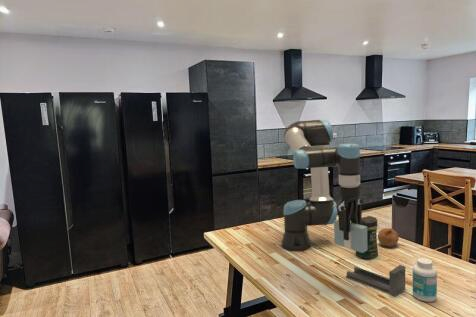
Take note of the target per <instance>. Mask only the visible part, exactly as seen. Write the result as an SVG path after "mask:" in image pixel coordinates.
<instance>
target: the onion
mask: <svg viewBox="0 0 476 317" xmlns="http://www.w3.org/2000/svg"><path fill="white" fill-rule="evenodd" d="M377 233H378V235H377V240H378V241H379V243H380V245H382V246H384V247H388V248H392V247H394V246H396V245H397V244H398V242H399V238H400V237H399V233H398V232H397V231H396V230H395V229H393V228H390V227H385V228H382V229H380V230H379V232H377Z"/></svg>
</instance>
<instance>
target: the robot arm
mask: <svg viewBox="0 0 476 317" xmlns="http://www.w3.org/2000/svg"><path fill="white" fill-rule="evenodd" d="M333 131H334V130H333V127H332V124H331V122H329V121H328V120H327V119H313V120H312V119H311V120H299V121H295V122H292V123H291V124H290V125H288V126H287V127H286V128H285V130H284V133H283V138H284V141H285V143H286V144H287V145H288V146H290V147H291V149H292V151H293V155H292V157H293V158H292V161H293V166H294V168H295V169H303V170H306V169H310V179H311V197H310V198H309V202H307V201H306V200H304V199H296V200H295V199H294V200H289V201H287V202H286V203H285V204H284V206H283V221H284V226H283V228H284V232H283V236H282V240H281V247H282V248H283V249H284V250H287V251H293V252H302V251H306V250H309V249H310V248H312V240H311V239H310V235H309V233H308V232H309V231H308V227H310V226H328V225H334V221H337V220H339V230H341V231H343V234H344V248H346V249H349V250H352V245H351V231H350V223H354V224H358V225H361V219H362V218H363V217H362V216H363V213H362V212H363V204H364V203H363V202H364V201H363V199H360V198H359V197H361V194H362V193H361V186H360V185H361V150H360V145H359V144H358V143H341V144H339V145H338V146H333V147H330V143H332V142H333V140H334V132H333ZM329 167H331V168H333V167H335V168H336V167H338V185H339V187H338V190H339V191H338V192H339V197H341V201H340V202H341V204H339V205H337V203H336V201H334V200H333V198H332V197H331V195H330V184H329V182H330V181H329V180H330V179H329ZM337 217H338V219H337ZM358 221H359V222H358Z"/></svg>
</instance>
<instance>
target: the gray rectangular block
mask: <svg viewBox="0 0 476 317" xmlns="http://www.w3.org/2000/svg"><path fill="white" fill-rule="evenodd" d="M333 228H334V229H333V230H334V231H333V232H334V234H333V235H334V238H333V239H334V240H333V241H334V245H337V246H340V247H344V234H343V231H341V230H339V219H336V221H334V223H333ZM350 231H351V245H352V249H351V250H352V251H355V252H356V251H358V252H361V253H363V252H365V251H367V227H366V226H362V225H358V224H354V223H351V222H350ZM344 248H345V247H344Z"/></svg>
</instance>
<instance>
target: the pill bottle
mask: <svg viewBox="0 0 476 317" xmlns="http://www.w3.org/2000/svg"><path fill="white" fill-rule="evenodd" d="M433 265H434V263H433V260H431V259H429V258H426V257H418V258H417V259H416V264H414V265H413V266H412V295H413V297H415V298H416V299H418V300H419V301H422V302H429V303H430V302H435V301H436V300H437V296H438V271H437V269H436V267H434V266H433Z"/></svg>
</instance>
